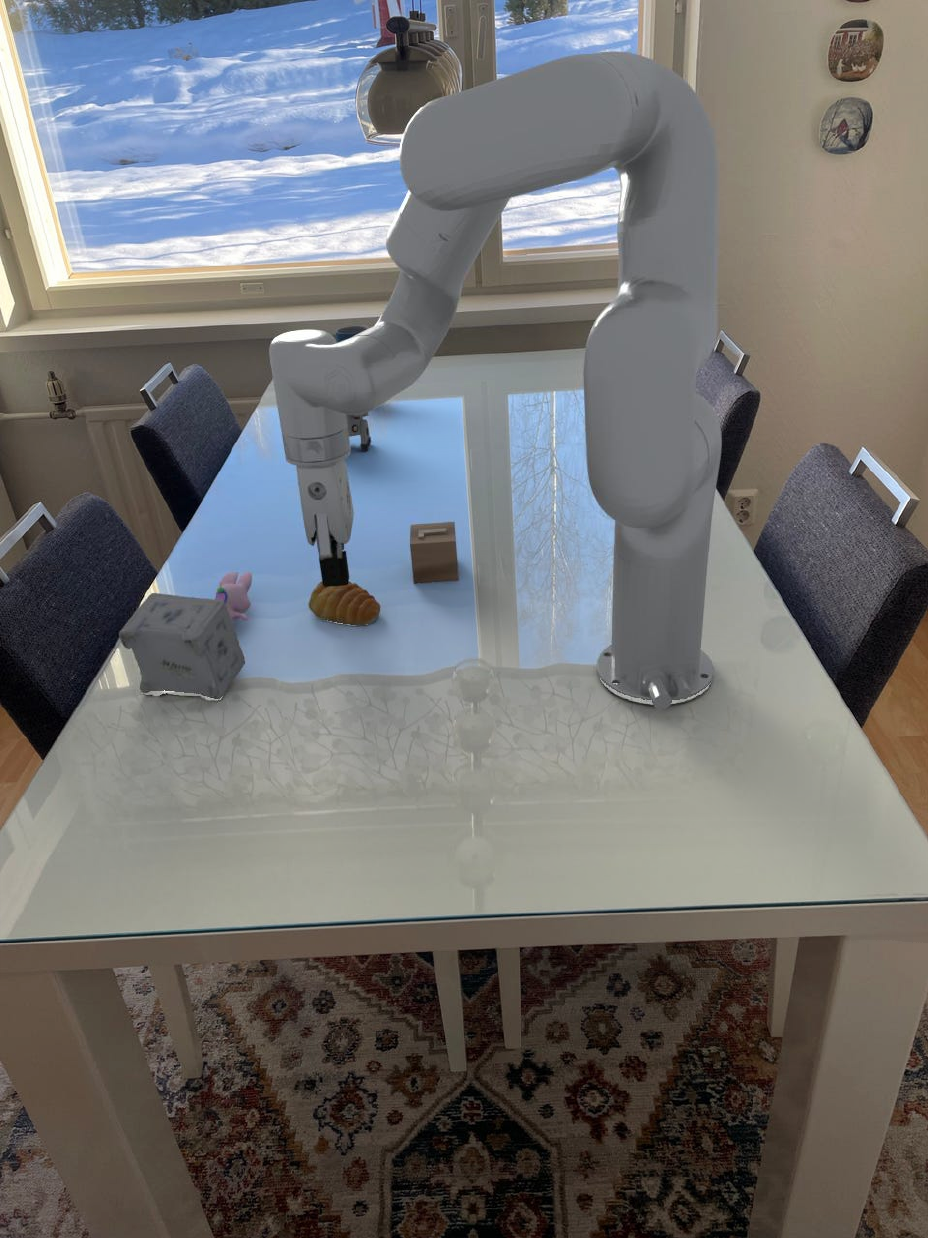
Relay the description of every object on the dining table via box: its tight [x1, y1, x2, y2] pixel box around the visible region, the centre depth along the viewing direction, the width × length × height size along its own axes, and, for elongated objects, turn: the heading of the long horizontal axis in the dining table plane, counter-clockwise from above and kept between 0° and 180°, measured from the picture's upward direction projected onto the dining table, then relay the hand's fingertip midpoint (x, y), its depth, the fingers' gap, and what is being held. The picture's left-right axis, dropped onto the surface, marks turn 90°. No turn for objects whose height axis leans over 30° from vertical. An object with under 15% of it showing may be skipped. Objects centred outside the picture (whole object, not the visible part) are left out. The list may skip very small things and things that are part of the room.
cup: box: [335, 324, 370, 343], centre depth 191 cm, size 7×7×15 cm
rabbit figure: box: [213, 571, 253, 628], centre depth 119 cm, size 6×6×15 cm
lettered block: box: [409, 521, 459, 585], centre depth 126 cm, size 6×6×6 cm
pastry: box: [308, 581, 381, 626], centre depth 119 cm, size 9×7×4 cm
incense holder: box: [118, 592, 246, 699], centre depth 105 cm, size 10×8×10 cm
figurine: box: [346, 412, 372, 452], centre depth 170 cm, size 9×12×15 cm
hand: (336, 582), depth 117 cm, fingers closed
